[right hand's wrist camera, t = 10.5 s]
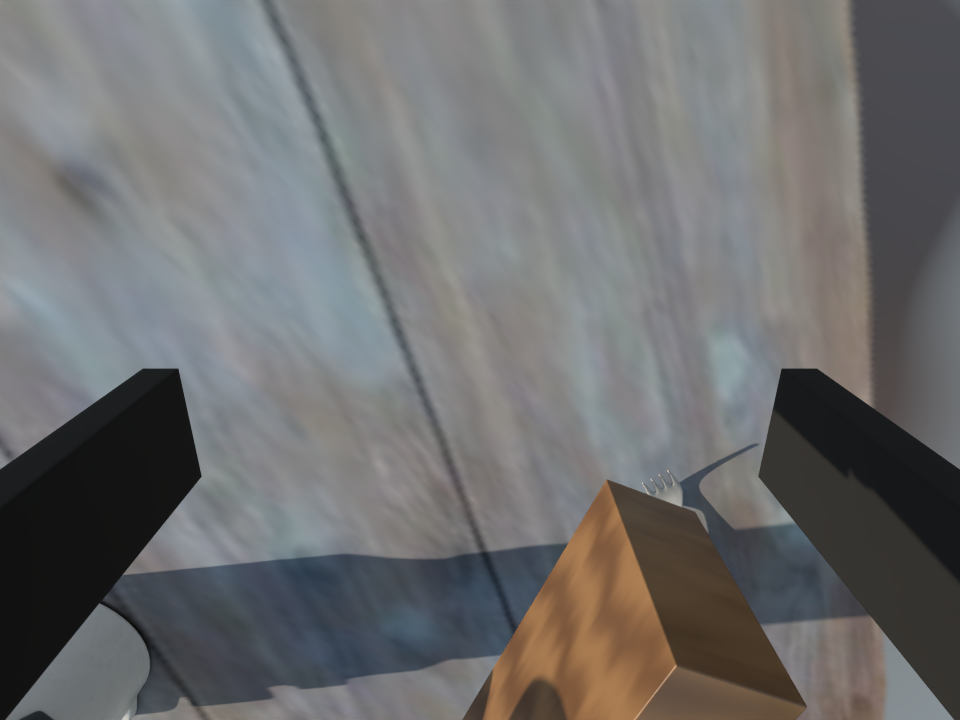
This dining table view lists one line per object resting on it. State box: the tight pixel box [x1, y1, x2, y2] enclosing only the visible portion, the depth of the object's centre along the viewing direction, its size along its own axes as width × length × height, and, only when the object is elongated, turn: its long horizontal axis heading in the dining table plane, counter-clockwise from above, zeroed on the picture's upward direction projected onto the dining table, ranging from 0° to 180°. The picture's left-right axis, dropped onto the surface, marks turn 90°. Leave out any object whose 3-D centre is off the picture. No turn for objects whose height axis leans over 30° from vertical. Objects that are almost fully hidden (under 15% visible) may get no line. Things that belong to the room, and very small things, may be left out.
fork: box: [642, 470, 683, 507], centre depth 46 cm, size 3×16×2 cm, turn 32°
